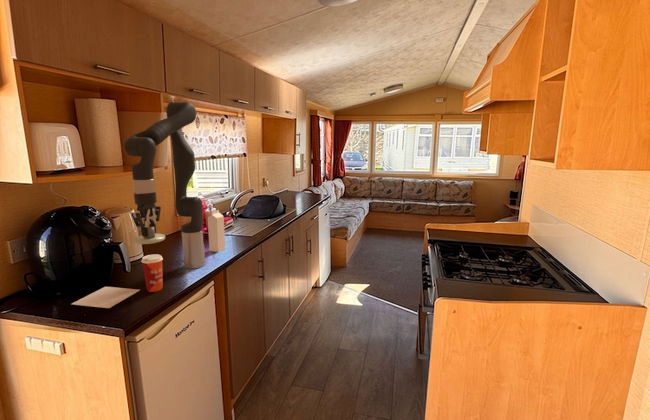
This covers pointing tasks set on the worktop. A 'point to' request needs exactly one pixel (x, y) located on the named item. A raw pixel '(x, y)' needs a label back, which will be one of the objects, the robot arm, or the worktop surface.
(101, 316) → the worktop surface
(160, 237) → the lid
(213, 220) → the milk
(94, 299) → the mat
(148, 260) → the paper cup
